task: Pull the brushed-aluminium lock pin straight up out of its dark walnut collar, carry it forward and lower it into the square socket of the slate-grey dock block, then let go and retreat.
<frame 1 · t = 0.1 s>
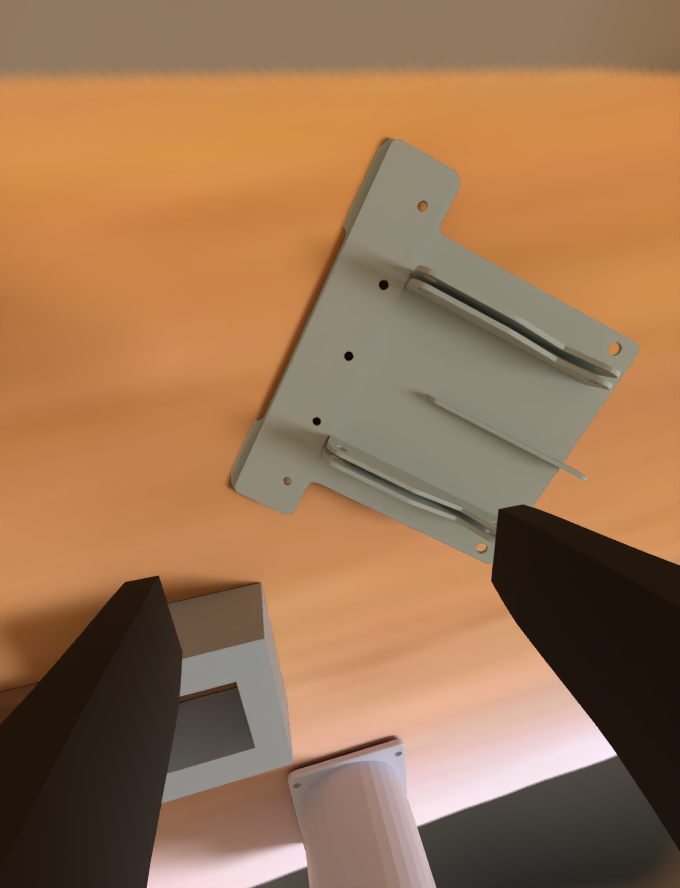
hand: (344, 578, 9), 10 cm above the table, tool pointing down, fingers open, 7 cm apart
metal bracket: (418, 388, 19), on the table
mount: (41, 734, 21), on the table
dock: (200, 664, 22), on the table
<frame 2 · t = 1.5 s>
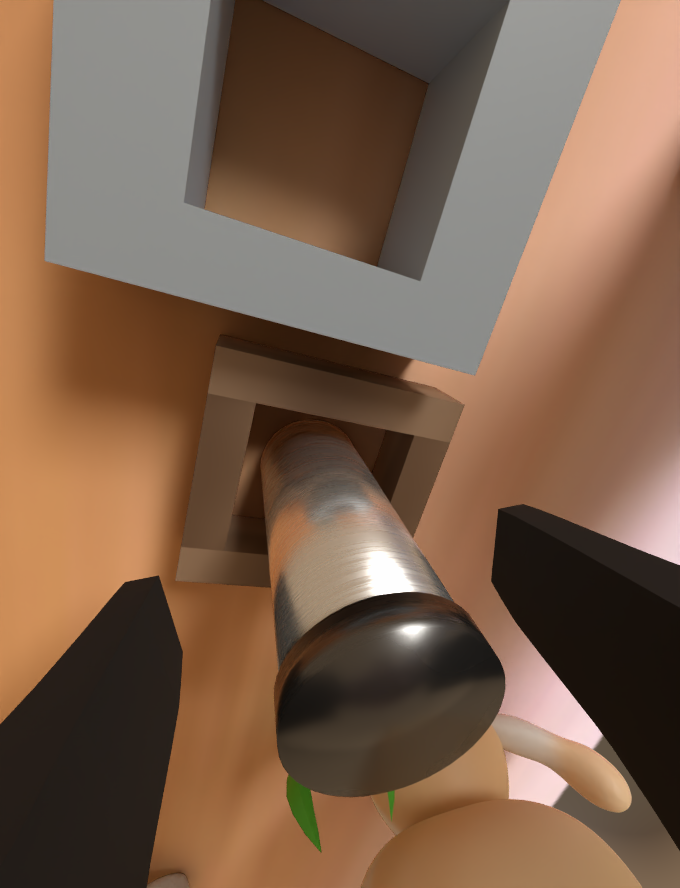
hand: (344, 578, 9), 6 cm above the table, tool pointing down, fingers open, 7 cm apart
mount: (309, 464, 14), on the table
pin: (335, 540, 10), in the mount
dock: (314, 154, 10), on the table
ceramic mug: (80, 886, 20), on the table
kitten: (412, 725, 21), on the table
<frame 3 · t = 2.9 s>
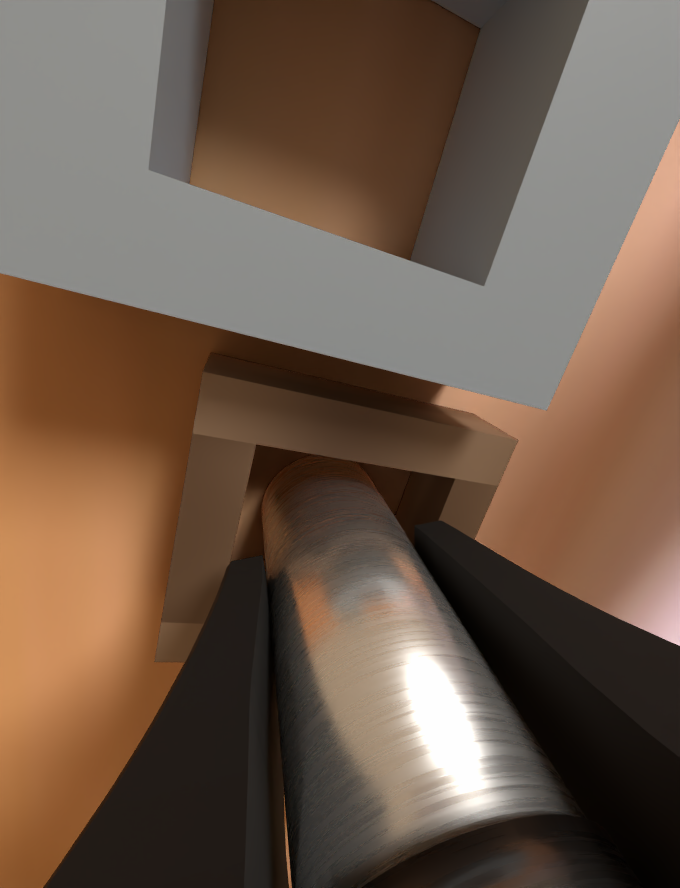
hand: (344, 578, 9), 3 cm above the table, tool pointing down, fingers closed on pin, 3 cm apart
mount: (320, 507, 11), on the table
pin: (362, 631, 7), in the mount, touching gripper
dock: (332, 120, 8), on the table
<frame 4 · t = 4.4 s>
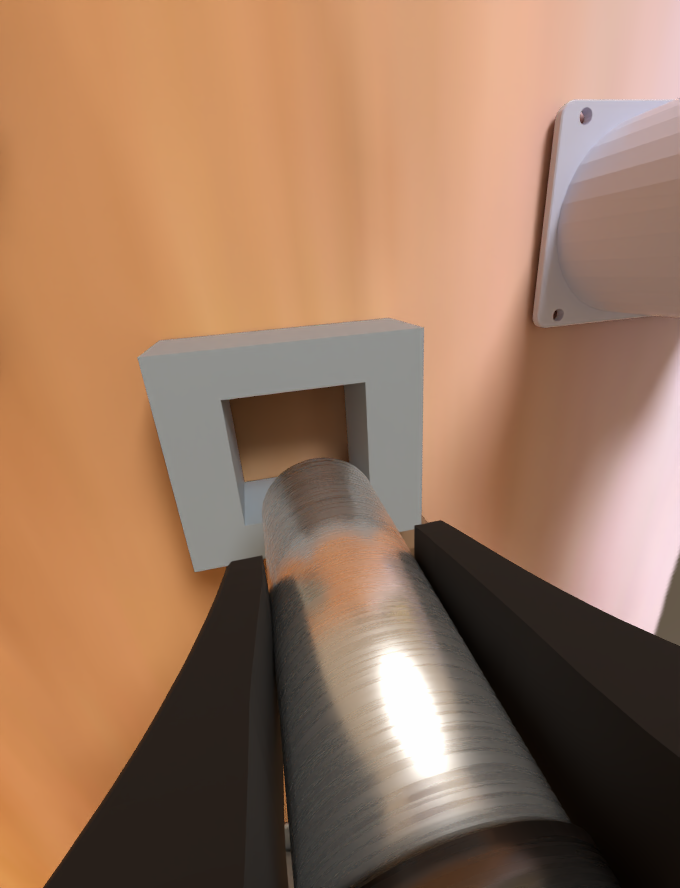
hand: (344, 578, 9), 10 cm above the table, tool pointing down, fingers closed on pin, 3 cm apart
pin: (360, 635, 8), point 11 cm above the table, touching gripper
dock: (291, 424, 17), on the table
ceramic mug: (306, 839, 30), on the table
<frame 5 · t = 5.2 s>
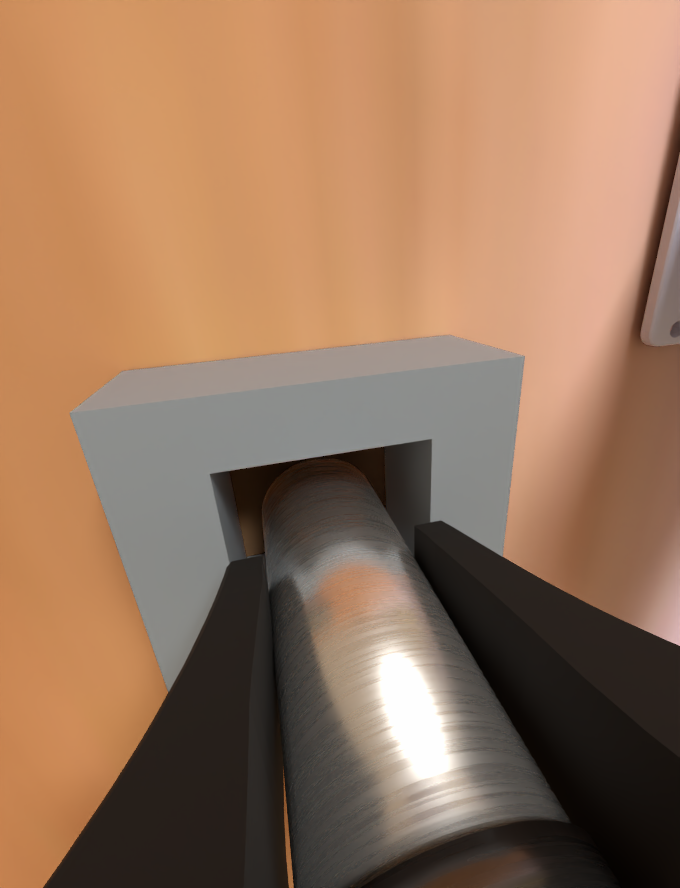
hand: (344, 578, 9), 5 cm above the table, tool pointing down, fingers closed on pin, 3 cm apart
pin: (360, 635, 8), point 6 cm above the table, touching gripper
dock: (311, 480, 13), on the table
when the fingers open (4 cm above the table, at t = 5.9 s): pin drops 1 cm, resting in dock.
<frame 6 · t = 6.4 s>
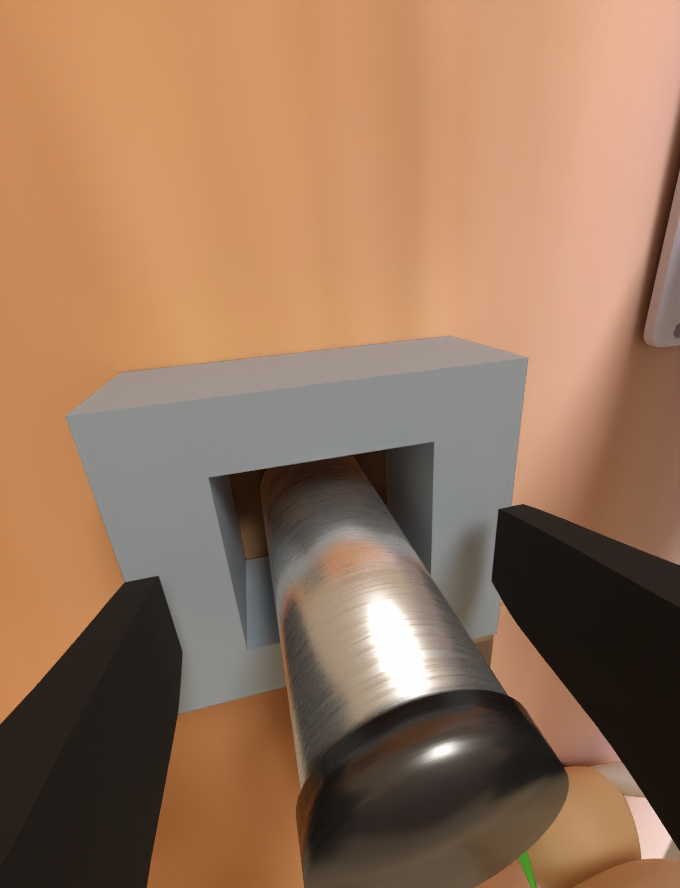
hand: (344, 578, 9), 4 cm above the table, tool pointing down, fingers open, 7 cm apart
mount: (381, 660, 16), on the table
pin: (349, 587, 9), in the dock
dock: (311, 482, 13), on the table
kitten: (535, 783, 23), on the table
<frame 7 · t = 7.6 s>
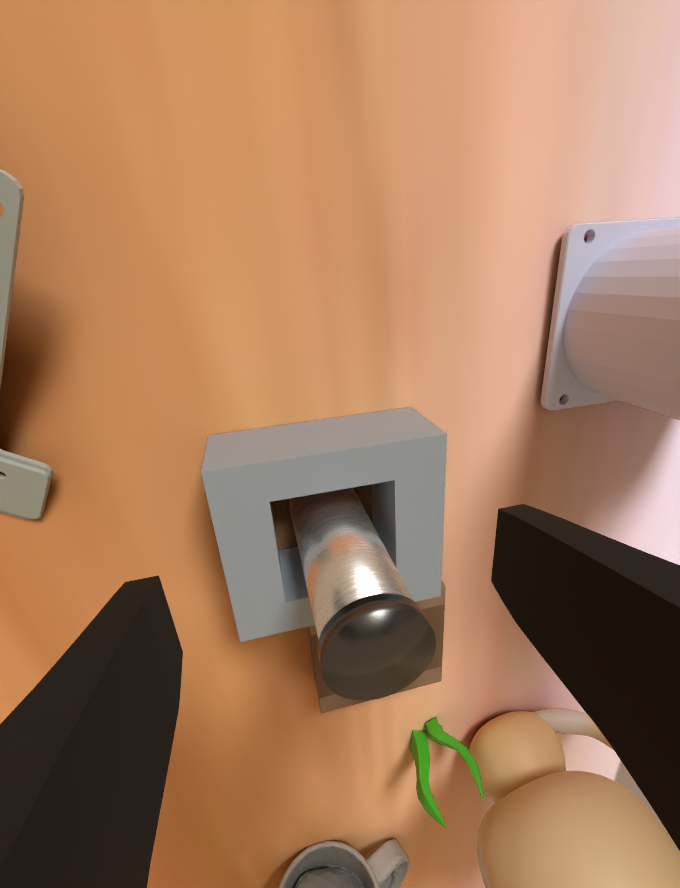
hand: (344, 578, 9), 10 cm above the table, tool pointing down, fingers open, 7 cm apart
mount: (370, 622, 23), on the table
pin: (344, 560, 15), in the dock
dock: (322, 499, 19), on the table
ceramic mug: (336, 857, 32), on the table
kitten: (492, 727, 30), on the table
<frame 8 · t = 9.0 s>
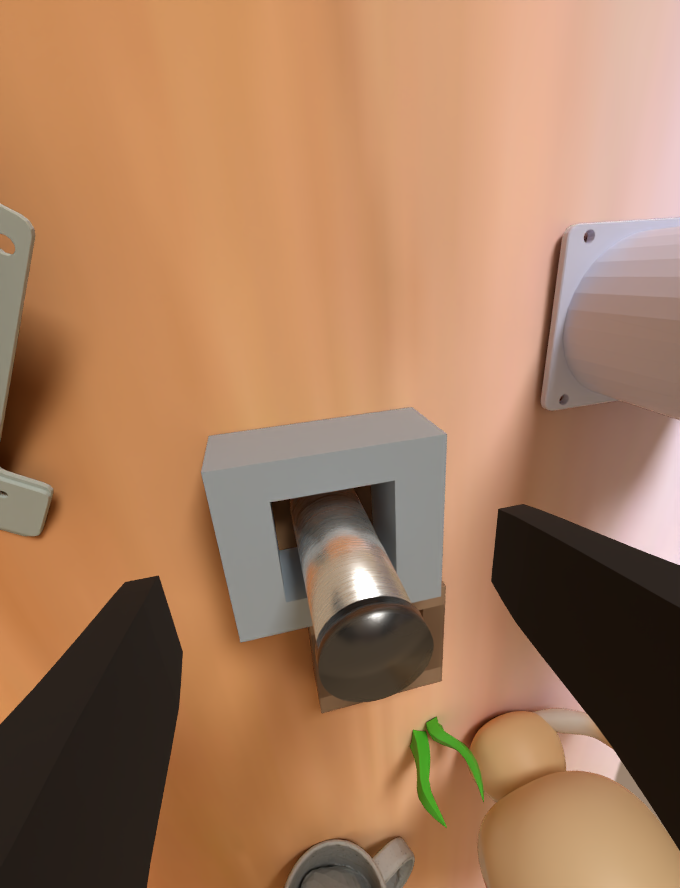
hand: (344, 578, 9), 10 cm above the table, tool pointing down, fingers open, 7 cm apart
mount: (370, 622, 23), on the table
pin: (343, 561, 15), in the dock
dock: (322, 499, 19), on the table
ceramic mug: (342, 855, 32), on the table
kitten: (492, 727, 30), on the table
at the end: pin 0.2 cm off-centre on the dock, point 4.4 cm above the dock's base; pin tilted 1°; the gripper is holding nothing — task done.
